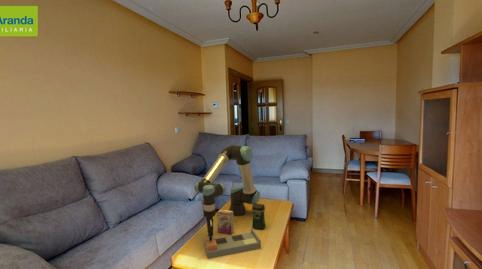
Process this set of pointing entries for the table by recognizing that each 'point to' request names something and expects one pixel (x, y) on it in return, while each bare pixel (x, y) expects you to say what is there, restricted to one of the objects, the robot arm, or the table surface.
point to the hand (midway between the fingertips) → (210, 244)
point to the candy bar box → (225, 221)
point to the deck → (234, 244)
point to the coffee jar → (258, 216)
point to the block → (211, 245)
